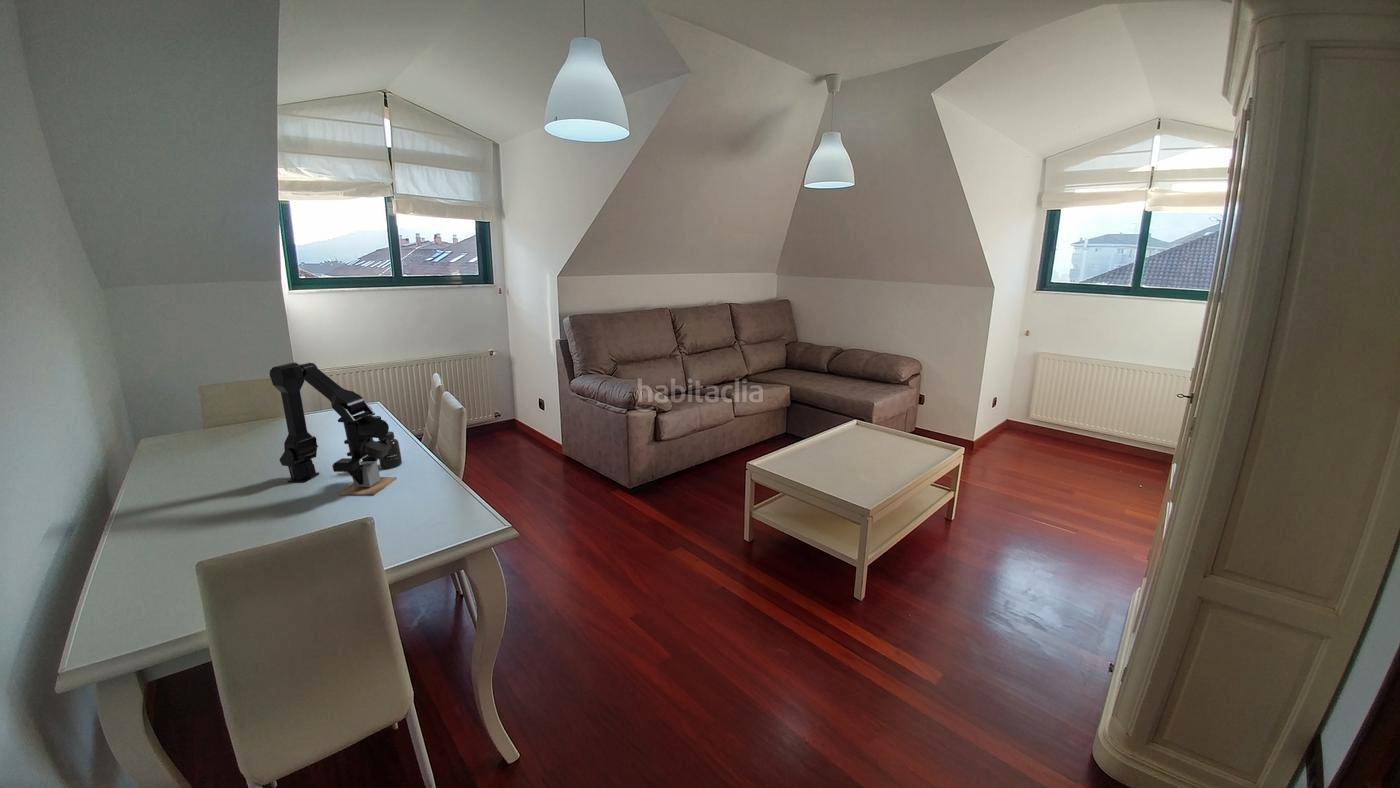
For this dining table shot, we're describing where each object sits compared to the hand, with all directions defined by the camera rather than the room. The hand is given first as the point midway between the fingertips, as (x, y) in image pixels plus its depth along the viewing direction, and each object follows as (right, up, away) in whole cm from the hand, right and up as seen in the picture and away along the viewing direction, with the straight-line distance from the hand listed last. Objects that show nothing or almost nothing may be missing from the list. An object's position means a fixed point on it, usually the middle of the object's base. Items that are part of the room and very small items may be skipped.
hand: (366, 480), depth 173 cm
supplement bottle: (-2, +2, +17) cm, 17 cm away
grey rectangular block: (0, -1, 0) cm, 1 cm away
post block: (0, -2, +1) cm, 2 cm away
